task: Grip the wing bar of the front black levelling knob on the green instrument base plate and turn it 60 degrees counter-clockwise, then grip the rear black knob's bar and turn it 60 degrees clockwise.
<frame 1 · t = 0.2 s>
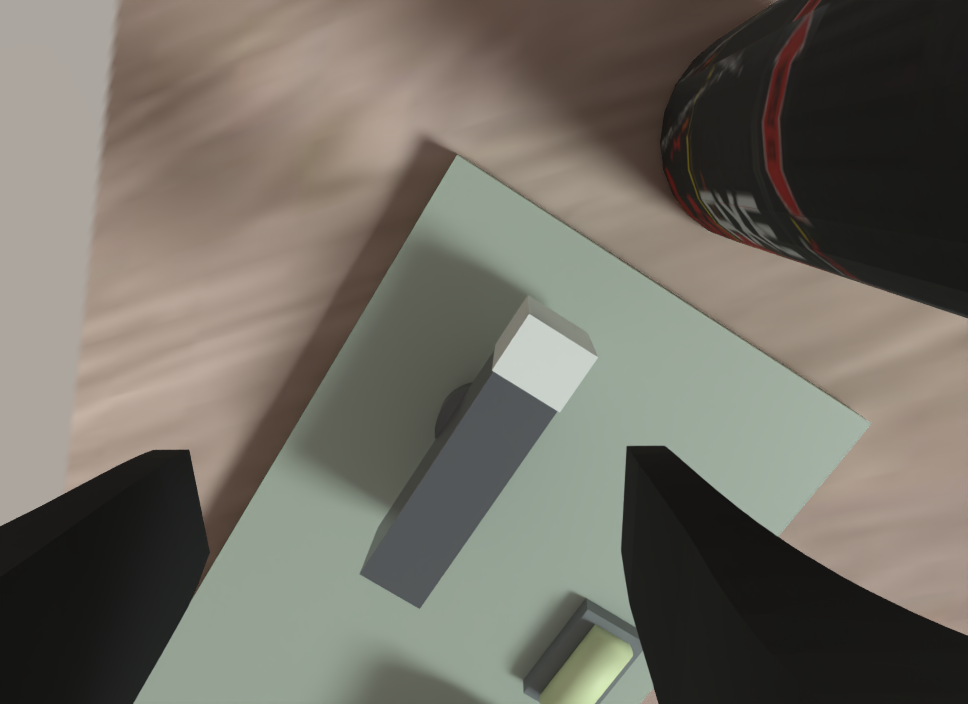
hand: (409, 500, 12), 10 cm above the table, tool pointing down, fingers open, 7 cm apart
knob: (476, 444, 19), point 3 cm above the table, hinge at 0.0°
base plate: (450, 588, 24), on the table
deodorant: (765, 136, 20), on the table
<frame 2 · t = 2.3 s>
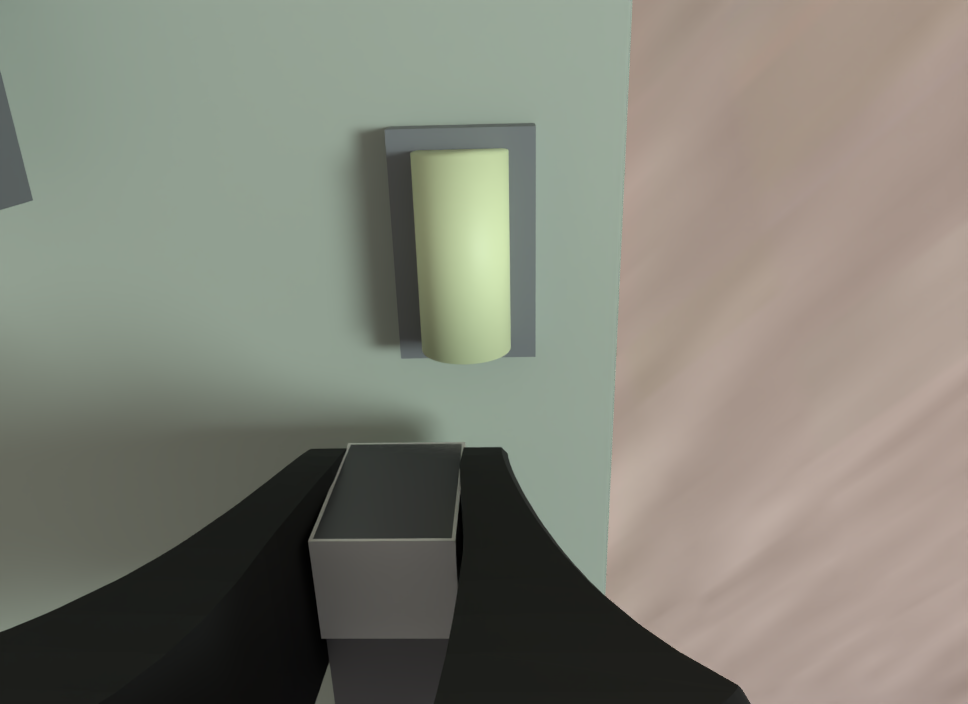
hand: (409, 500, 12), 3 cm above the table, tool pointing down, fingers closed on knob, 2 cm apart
base plate: (227, 283, 13), on the table
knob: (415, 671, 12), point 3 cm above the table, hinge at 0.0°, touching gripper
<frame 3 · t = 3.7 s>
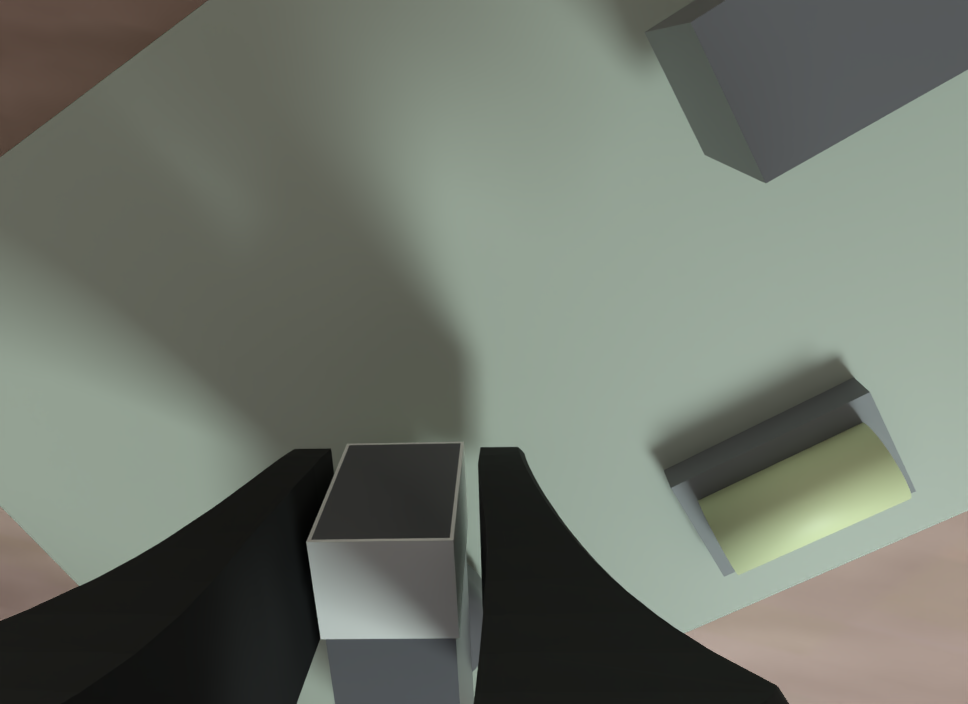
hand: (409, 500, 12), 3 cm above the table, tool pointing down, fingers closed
base plate: (606, 275, 13), on the table
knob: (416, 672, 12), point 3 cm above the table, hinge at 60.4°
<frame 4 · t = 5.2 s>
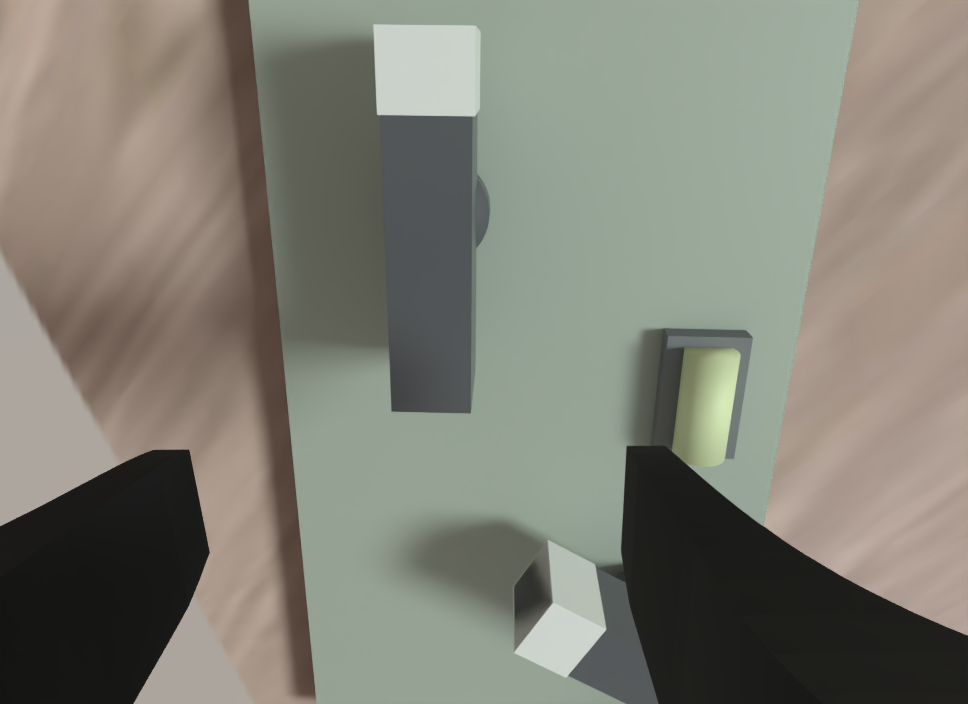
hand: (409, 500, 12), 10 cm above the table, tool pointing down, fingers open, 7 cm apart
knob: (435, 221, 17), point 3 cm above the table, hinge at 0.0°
base plate: (531, 400, 22), on the table
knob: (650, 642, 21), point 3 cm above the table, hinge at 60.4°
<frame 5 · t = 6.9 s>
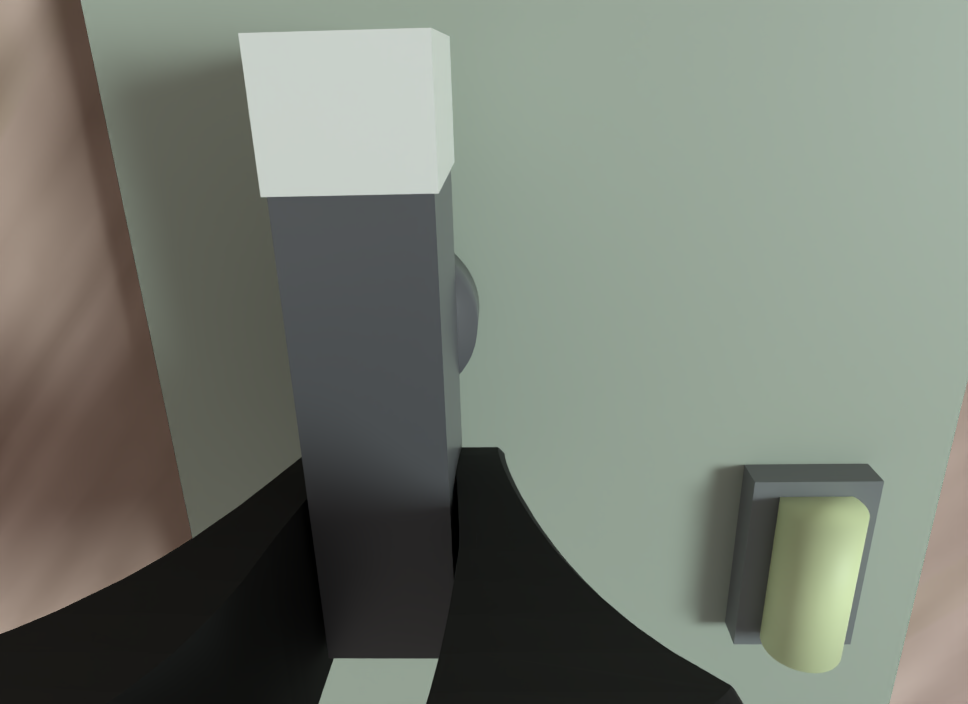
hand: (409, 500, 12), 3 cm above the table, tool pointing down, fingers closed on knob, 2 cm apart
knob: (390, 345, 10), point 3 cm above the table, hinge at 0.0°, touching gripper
base plate: (550, 551, 15), on the table
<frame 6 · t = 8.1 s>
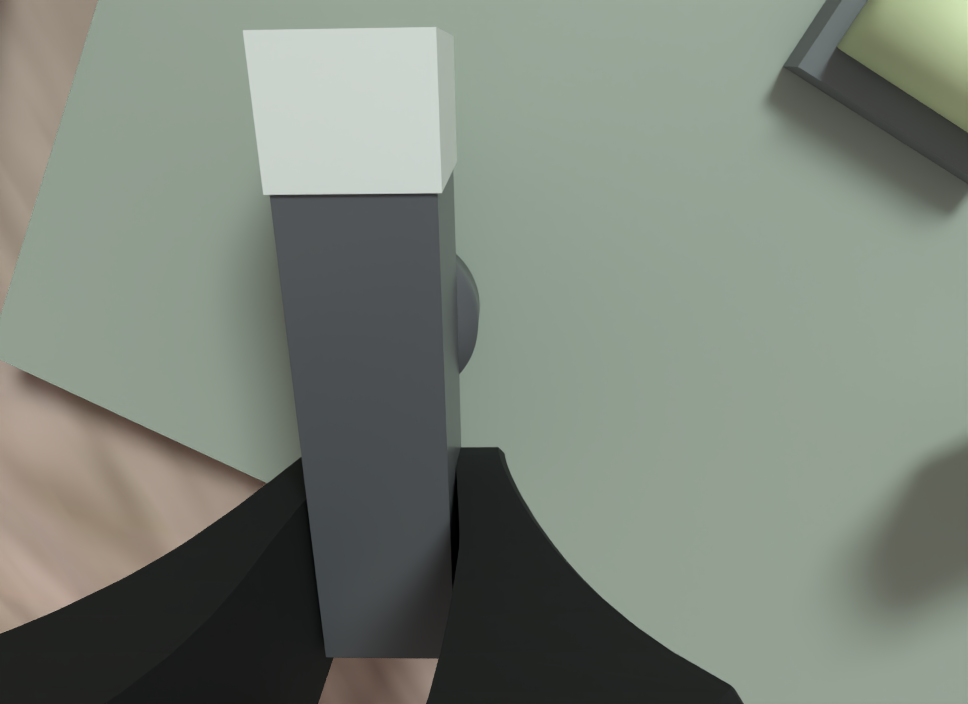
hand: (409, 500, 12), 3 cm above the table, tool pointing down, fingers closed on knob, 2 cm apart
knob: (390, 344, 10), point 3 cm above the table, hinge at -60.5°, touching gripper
base plate: (768, 318, 13), on the table
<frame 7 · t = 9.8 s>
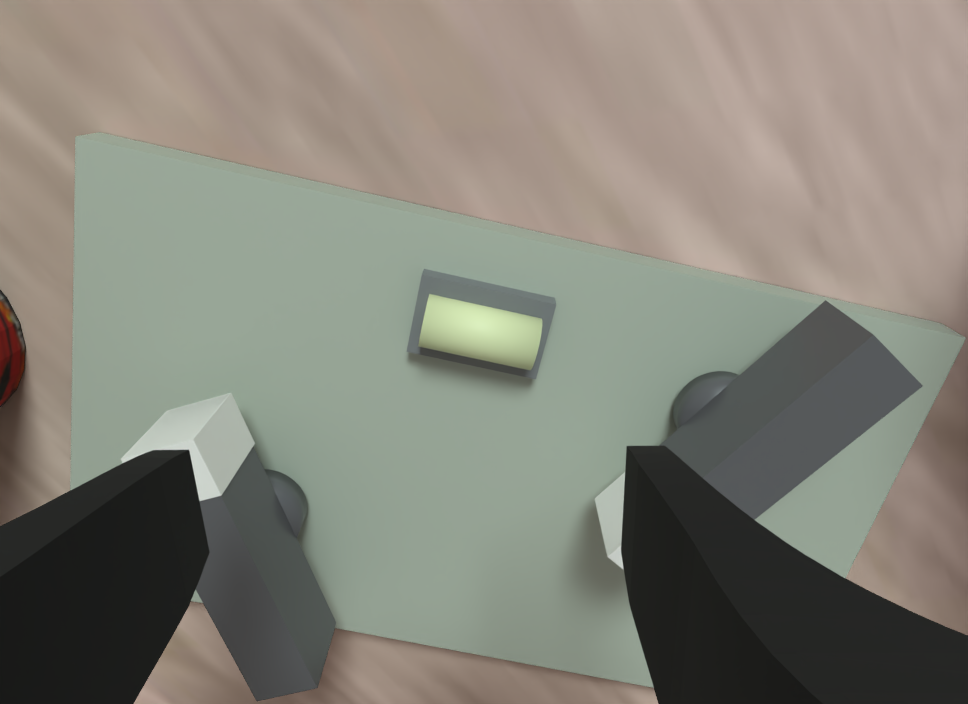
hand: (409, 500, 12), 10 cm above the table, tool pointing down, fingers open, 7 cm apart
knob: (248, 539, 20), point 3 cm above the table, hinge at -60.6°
base plate: (481, 448, 23), on the table
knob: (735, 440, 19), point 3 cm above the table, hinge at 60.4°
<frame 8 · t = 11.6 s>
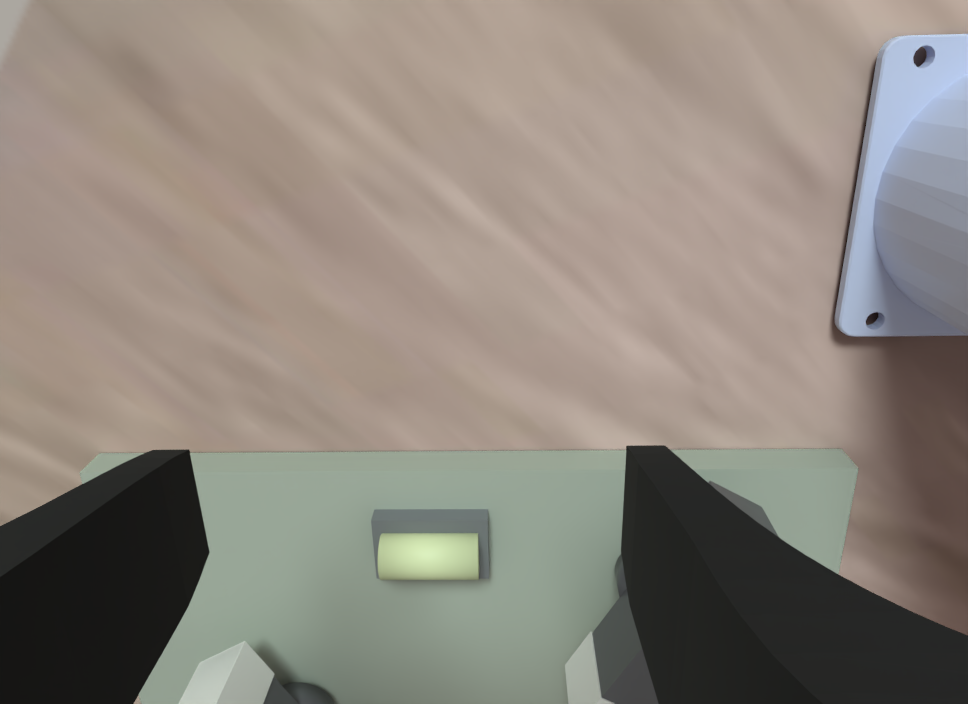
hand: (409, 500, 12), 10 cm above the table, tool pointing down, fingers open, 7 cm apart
base plate: (470, 622, 26), on the table
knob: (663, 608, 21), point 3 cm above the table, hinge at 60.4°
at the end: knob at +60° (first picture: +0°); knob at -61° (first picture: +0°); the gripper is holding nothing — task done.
